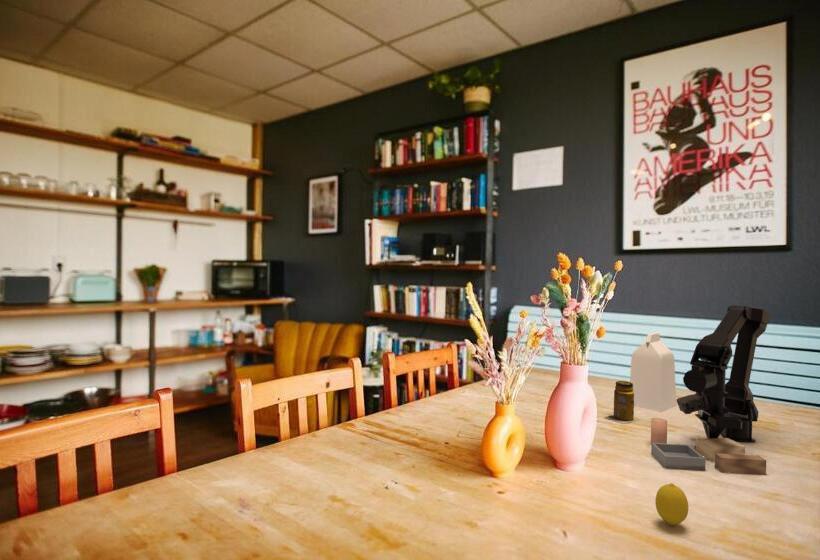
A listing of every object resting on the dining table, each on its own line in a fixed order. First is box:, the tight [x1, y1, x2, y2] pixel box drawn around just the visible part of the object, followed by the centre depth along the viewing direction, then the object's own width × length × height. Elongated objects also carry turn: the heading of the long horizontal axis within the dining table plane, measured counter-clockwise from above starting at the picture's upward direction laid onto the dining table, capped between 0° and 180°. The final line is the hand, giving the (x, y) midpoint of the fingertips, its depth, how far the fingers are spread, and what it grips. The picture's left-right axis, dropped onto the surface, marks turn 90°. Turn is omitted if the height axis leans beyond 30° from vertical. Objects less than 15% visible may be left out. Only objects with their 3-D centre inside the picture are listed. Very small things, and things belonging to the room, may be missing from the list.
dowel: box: [650, 417, 668, 444], centre depth 133 cm, size 4×4×7 cm
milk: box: [629, 332, 677, 413], centre depth 171 cm, size 12×12×26 cm
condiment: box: [604, 380, 640, 425], centre depth 156 cm, size 7×8×12 cm
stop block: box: [714, 453, 767, 476], centre depth 116 cm, size 10×3×4 cm, turn 83°
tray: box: [650, 442, 707, 472], centre depth 121 cm, size 9×9×3 cm
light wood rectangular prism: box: [695, 437, 746, 462], centre depth 125 cm, size 9×6×4 cm, turn 94°
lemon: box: [655, 482, 689, 526], centre depth 91 cm, size 6×6×8 cm
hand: (711, 443), depth 129 cm, fingers closed
